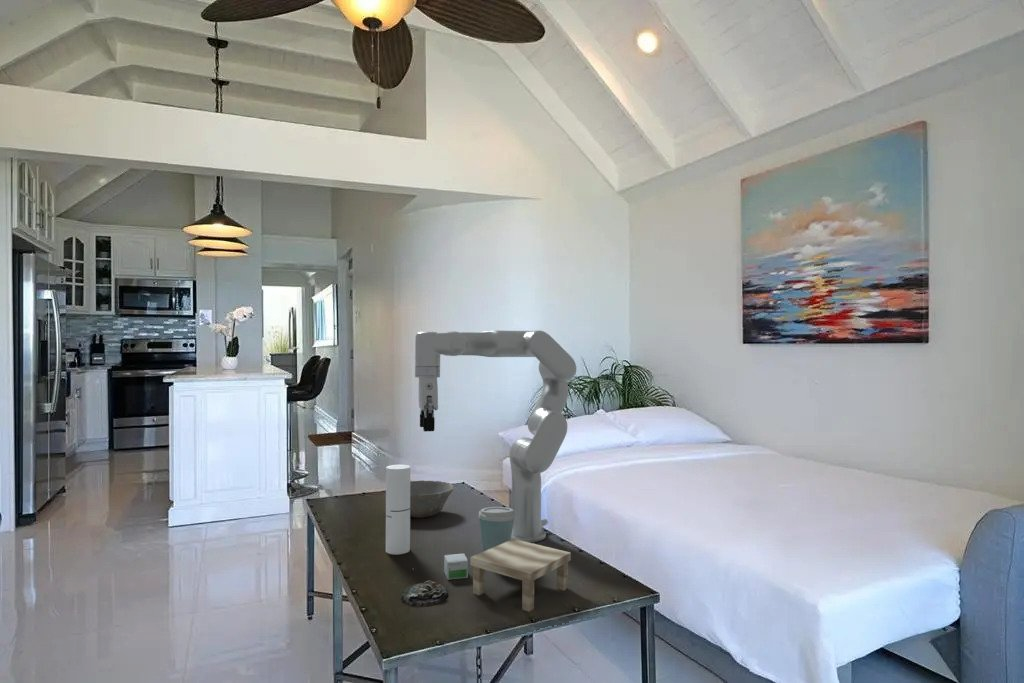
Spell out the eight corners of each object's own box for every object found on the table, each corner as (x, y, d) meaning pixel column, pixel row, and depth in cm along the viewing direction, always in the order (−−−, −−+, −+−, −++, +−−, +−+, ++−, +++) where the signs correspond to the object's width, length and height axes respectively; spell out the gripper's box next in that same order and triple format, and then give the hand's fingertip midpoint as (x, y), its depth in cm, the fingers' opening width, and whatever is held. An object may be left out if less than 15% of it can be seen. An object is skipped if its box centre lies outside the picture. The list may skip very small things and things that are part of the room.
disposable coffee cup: (472, 557, 175) (473, 505, 175) (507, 552, 179) (507, 502, 179) (484, 569, 165) (485, 514, 165) (521, 564, 169) (521, 511, 169)
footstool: (513, 572, 164) (513, 538, 164) (570, 588, 153) (570, 552, 153) (470, 593, 149) (470, 557, 149) (529, 613, 138) (529, 573, 138)
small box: (447, 580, 158) (447, 561, 158) (443, 572, 163) (443, 554, 163) (468, 578, 159) (468, 559, 159) (464, 570, 165) (464, 552, 165)
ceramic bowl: (377, 516, 216) (377, 488, 217) (421, 503, 235) (421, 477, 235) (422, 527, 204) (422, 498, 204) (465, 512, 223) (466, 485, 223)
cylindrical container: (404, 555, 177) (405, 469, 177) (381, 553, 178) (382, 468, 178) (413, 547, 184) (413, 465, 184) (391, 545, 185) (391, 464, 185)
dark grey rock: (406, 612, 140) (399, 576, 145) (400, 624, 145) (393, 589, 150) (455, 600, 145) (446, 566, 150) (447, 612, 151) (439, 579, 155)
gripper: (444, 373, 175) (443, 432, 175) (436, 371, 192) (435, 425, 192) (418, 373, 173) (417, 433, 173) (412, 371, 190) (411, 425, 190)
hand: (426, 429), depth 183 cm, fingers open, 9 cm apart
